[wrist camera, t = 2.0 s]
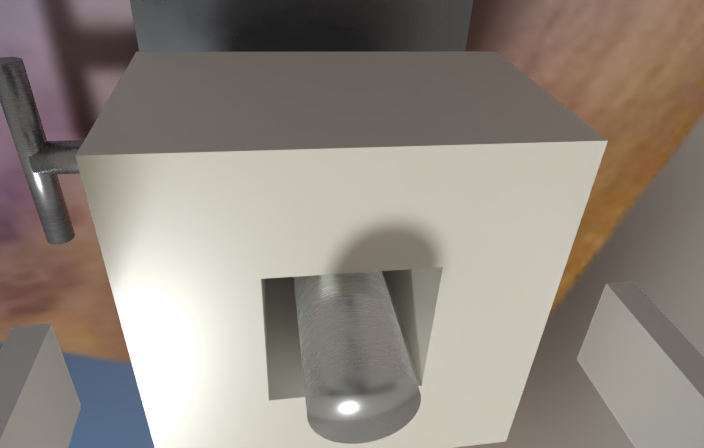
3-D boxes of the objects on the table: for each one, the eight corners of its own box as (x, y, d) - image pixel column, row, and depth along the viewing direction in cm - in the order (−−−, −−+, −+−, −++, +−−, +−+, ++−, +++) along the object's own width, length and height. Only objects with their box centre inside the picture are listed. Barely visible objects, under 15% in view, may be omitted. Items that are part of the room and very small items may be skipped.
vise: (-11, -71, 18) (-577, 87, 6) (463, -57, 20) (779, 75, 8) (86, 260, 26) (-63, 627, 14) (420, 242, 28) (549, 537, 16)
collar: (136, 51, 14) (75, 155, 9) (496, 51, 16) (608, 140, 11) (185, 326, 20) (164, 481, 15) (447, 306, 21) (505, 441, 16)
